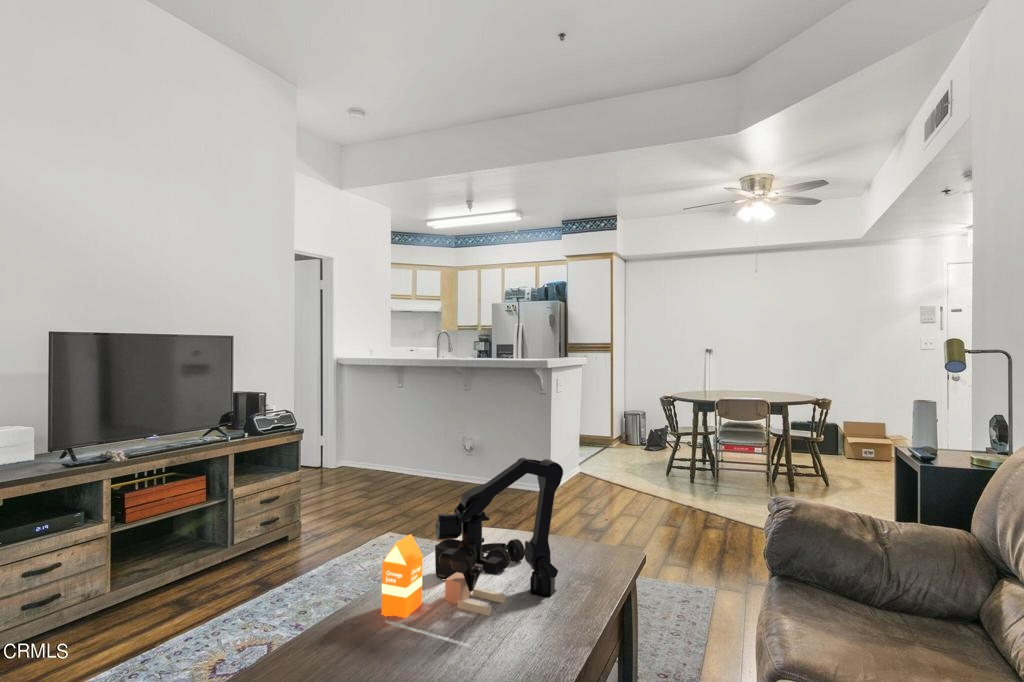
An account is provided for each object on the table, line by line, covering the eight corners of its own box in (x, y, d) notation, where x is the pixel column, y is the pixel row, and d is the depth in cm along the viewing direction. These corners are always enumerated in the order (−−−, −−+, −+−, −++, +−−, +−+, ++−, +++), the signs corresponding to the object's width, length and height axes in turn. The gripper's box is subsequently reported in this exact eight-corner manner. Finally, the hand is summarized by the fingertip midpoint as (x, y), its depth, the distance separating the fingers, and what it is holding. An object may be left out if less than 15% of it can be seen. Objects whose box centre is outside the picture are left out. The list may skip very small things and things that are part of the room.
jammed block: (470, 596, 165) (471, 575, 165) (460, 604, 160) (460, 582, 160) (456, 592, 167) (456, 572, 167) (445, 600, 162) (445, 579, 162)
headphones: (499, 551, 182) (453, 547, 193) (502, 575, 181) (455, 570, 193) (528, 537, 196) (483, 535, 207) (530, 559, 195) (485, 555, 206)
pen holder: (431, 572, 184) (431, 541, 184) (458, 568, 187) (459, 537, 188) (439, 583, 175) (439, 550, 175) (467, 578, 179) (468, 547, 179)
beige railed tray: (507, 601, 163) (507, 593, 163) (486, 619, 152) (487, 609, 152) (454, 588, 171) (454, 580, 171) (431, 604, 160) (431, 595, 160)
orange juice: (380, 615, 153) (382, 541, 154) (398, 601, 162) (399, 531, 162) (406, 620, 151) (407, 545, 151) (422, 606, 159) (423, 535, 159)
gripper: (428, 539, 159) (427, 595, 158) (487, 550, 150) (486, 609, 150) (450, 528, 169) (449, 580, 168) (505, 538, 160) (505, 593, 160)
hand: (471, 591), depth 161 cm, fingers closed
